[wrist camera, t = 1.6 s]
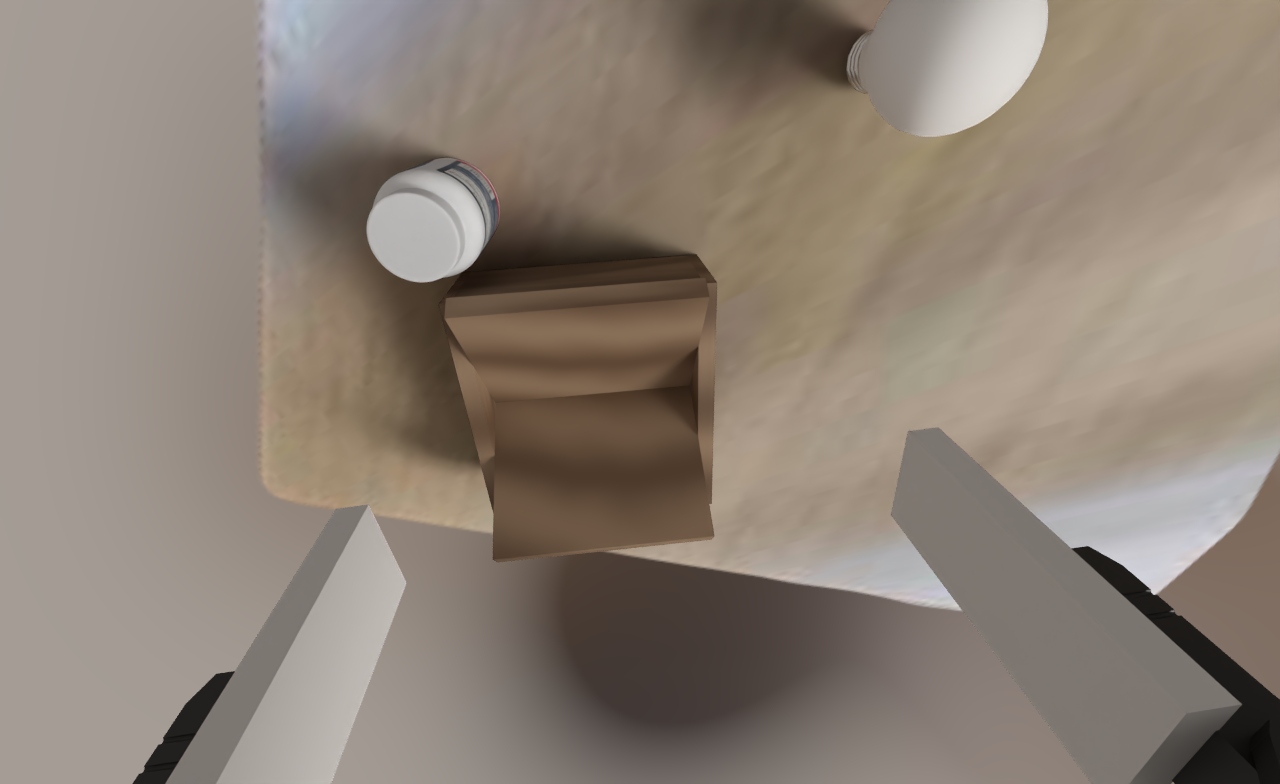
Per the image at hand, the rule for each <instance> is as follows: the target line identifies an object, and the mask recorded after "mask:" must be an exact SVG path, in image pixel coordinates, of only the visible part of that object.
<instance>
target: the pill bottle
mask: <svg viewBox="0 0 1280 784" xmlns="http://www.w3.org/2000/svg"><path fill="white" fill-rule="evenodd" d="M499 218H500V205H499V200H498V196H497V193H496V191H495V189H494V187H493V185H492V184H491V182H490V181H489V179H488V178H487V177H486V176H485V175H484V174H483V173H482V172H481V171H480V170H479V169H477V168H476V167H474V166H473V165H471V164H469V163H467V162H465V161H462V160H458V159H454V158H440V159H434V160H431V161H428V162H425V163H423V164H421V165H418V166H416V167H414V168H411V169H408V170H405V171H402V172H400V173H398V174H396V175H394V176H392V177H391V178H390V179H389V180H387V181H386V182H385V183H384V184H383V185H382V187H381V188H380V190H379V191H378V193H377V195H376V198H375V200H374V204H373V208H372V210H371V211H370V214H369V216H368V220H367V227H366V229H367V239H368V243H369V245H370V248H371V250H372V252H373V254H374V255H375V257H376V258H377V259H378V261H379V262H380V263H381V264H382V265H383V266H384V267H385V268H386V269H387V270H389V271H390V272H391V273H393V274H394V275H396V276H398V277H400V278H403V279H405V280H409V281H413V282H431V281H435V280H438V279H440V278H444V277H450V276H454V275H457V274H459V273H461V272H463V271H464V270H466V269H467V268H469V267H470V266H471V265H472V264H473V263H474V262H475V261H476V259H477V258H478V257H479V255H480V254H481V252H482V251H483V249H484V248H485V246H486V245H487V243H488V242H489V240H490V239H491V238H492V236H493V235H494V233H495V231H496V229H497V226H498V223H499Z"/></svg>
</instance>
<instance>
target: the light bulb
mask: <svg viewBox="0 0 1280 784" xmlns="http://www.w3.org/2000/svg"><path fill="white" fill-rule="evenodd" d="M1047 23H1048V5H1047V0H891V1H890V2H889V3H888V5H887V6H886V7H885V9H884V10H883V12H882V14H881V16H880V18H879V19H878V21H877V23H876V25H875V27H874V29H873V30H870V31H868V32H866V33H864V34H863V35H861V36H860V37H859V38H858V40H857V41H856V42H855V43H854V44H853V45H852V48H851V50H850V52H849V54H848V57H847V64H846V73H847V77H848V81H849V82H850V84H851V85H852V86H853V88H854V89H855V90H857V91H859V92H861V93H864V94H867V93H868V94H869V97H870V100H871V102H872V104H873V106H874V107H875V109H876V111H877V112H878V113H879V114H880V115H881V116H882V117H883V118H884V120H885V121H886V122H887V123H888V124H890V125H891V126H893V127H894V128H896V129H898V130H899V131H903V132H906V133H909V134H912V135H916V136H924V137H935V136H943V135H949V134H954V133H957V132H959V131H962V130H964V129H967V128H969V127H972V126H974V125H976V124H978V123H980V122H981V121H983V120H985V119H986V118H988V117H990V116H991V115H992V114H993V113H995V112H996V111H997V110H998V109H999V108H1001V107H1002V106H1003V105H1004V104H1005V103H1006V102H1008V101H1009V100H1010V99H1011V98H1012V97H1013V95H1014V94H1015V93H1016V92H1017V91H1018V90H1019V89H1020V88H1021V86H1022V85H1023V83H1024V82H1025V81H1026V79H1027V78H1028V76H1029V75H1030V73H1031V71H1032V69H1033V67H1034V66H1035V64H1036V62H1037V60H1038V57H1039V55H1040V52H1041V49H1042V46H1043V44H1044V40H1045V35H1046V30H1047Z"/></svg>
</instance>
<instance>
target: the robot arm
mask: <svg viewBox="0 0 1280 784" xmlns="http://www.w3.org/2000/svg"><path fill="white" fill-rule="evenodd" d="M891 516H892V517H893V518H894V520H895V521H896V522H897V524H898V525H899V526H900V528H901V529H902V530H903V532H904V533H905V534H906V536H907V537H908V538H909V540H910V541H911V542H912V544H913V545H914V546H915V548H916V549H917V550H918V552H919V553H920V554H921V556H922V557H923V558H924V560H925V561H926V562H927V564H928V565H929V566H930V568H931V569H932V570H933V572H934V573H935V574H936V576H937V577H938V578H939V580H940V581H941V582H942V584H943V585H944V587H945V588H946V589H947V591H948V592H949V593H950V595H951V596H952V597H953V599H954V600H955V601H956V603H957V604H958V605H959V607H960V608H961V609H962V611H963V612H964V613H965V615H966V616H967V617H968V619H969V620H970V621H971V623H972V624H973V625H974V627H975V628H976V629H977V631H978V632H979V633H980V635H981V636H982V637H983V639H984V640H985V641H986V643H987V644H988V645H989V647H990V648H991V649H992V651H993V652H994V653H995V655H996V656H997V658H998V659H999V660H1000V662H1001V663H1002V664H1003V665H1004V667H1005V668H1006V670H1007V671H1008V672H1009V674H1010V675H1011V676H1012V677H1013V679H1014V680H1015V682H1016V683H1017V684H1018V685H1019V687H1020V688H1021V690H1022V691H1023V692H1024V694H1026V696H1027V698H1028V699H1029V700H1030V702H1031V703H1032V704H1033V706H1034V707H1035V708H1036V710H1037V711H1038V712H1039V714H1040V715H1041V716H1042V718H1043V719H1044V720H1045V722H1046V723H1047V724H1048V726H1049V727H1050V729H1051V730H1052V731H1053V733H1054V734H1055V735H1056V737H1057V738H1058V739H1059V741H1060V742H1061V743H1062V745H1063V746H1064V747H1065V748H1066V750H1067V751H1068V753H1069V754H1070V755H1071V756H1072V758H1073V759H1074V761H1075V762H1076V763H1077V765H1078V766H1079V767H1080V769H1081V770H1082V771H1083V772H1084V774H1085V775H1086V777H1087V778H1088V779H1089V781H1090V782H1091V783H1092V784H1171V783H1172V782H1174V783H1175V784H1280V699H1278V698H1277V697H1276V696H1275V695H1273V694H1272V693H1271V692H1270V691H1269V690H1267V689H1266V688H1265V687H1264V686H1263V685H1262V684H1260V683H1259V682H1258V681H1257V680H1256V679H1255V678H1253V677H1252V676H1251V675H1250V674H1249V673H1248V672H1246V671H1245V670H1244V669H1243V668H1242V667H1240V666H1239V665H1238V664H1237V663H1236V662H1235V661H1233V660H1232V659H1231V658H1230V657H1229V656H1228V655H1227V654H1225V653H1224V652H1223V651H1222V650H1221V649H1220V648H1218V647H1217V646H1216V645H1215V644H1214V643H1213V642H1211V641H1210V640H1209V639H1208V638H1207V637H1205V636H1204V635H1203V634H1202V633H1201V632H1200V631H1198V630H1197V629H1196V628H1195V627H1194V626H1193V625H1191V624H1190V623H1189V622H1188V621H1186V619H1184V618H1183V617H1182V616H1178V615H1176V614H1175V610H1174V609H1173V608H1171V607H1170V606H1169V605H1168V604H1167V603H1166V602H1165V601H1163V600H1162V599H1161V598H1160V597H1159V596H1158V595H1153V594H1152V593H1151V589H1149V588H1148V587H1147V586H1146V585H1145V584H1144V583H1142V582H1141V581H1140V580H1139V579H1138V578H1137V577H1135V576H1134V575H1133V574H1132V573H1131V572H1130V571H1128V570H1127V569H1126V568H1125V567H1124V566H1123V565H1121V564H1119V563H1117V562H1115V561H1114V560H1112V559H1110V558H1108V557H1107V556H1105V555H1103V554H1101V553H1099V552H1098V551H1096V550H1094V549H1092V548H1090V547H1089V546H1086V547H1079V548H1072V549H1071V548H1070V547H1069V546H1068V545H1067V544H1066V543H1064V542H1063V541H1062V540H1061V539H1060V538H1059V537H1058V536H1057V535H1056V534H1055V533H1054V532H1052V531H1051V530H1050V529H1049V528H1048V527H1047V526H1046V525H1045V524H1044V523H1043V522H1041V521H1040V520H1039V519H1038V518H1037V517H1036V516H1035V515H1034V514H1033V513H1032V512H1030V511H1029V510H1028V509H1027V508H1026V507H1025V506H1024V505H1023V504H1022V503H1021V502H1020V501H1018V500H1017V499H1016V498H1015V497H1014V496H1013V495H1012V494H1011V493H1010V492H1009V491H1007V490H1006V489H1005V488H1004V487H1003V486H1002V485H1001V484H1000V483H999V482H998V481H996V480H995V479H994V478H993V477H992V476H991V475H990V474H989V473H988V472H987V471H986V470H984V469H983V468H982V467H981V466H980V465H979V464H978V463H977V462H976V461H975V460H973V459H972V458H971V457H970V456H969V455H968V454H967V453H966V452H965V451H964V450H962V449H961V448H960V447H959V446H958V445H957V444H956V443H955V442H954V441H953V440H952V439H950V438H949V437H948V436H947V435H946V434H945V433H944V432H943V431H942V430H941V429H939V428H930V429H923V430H915V431H908V434H907V438H906V443H905V448H904V453H903V458H902V463H901V468H900V473H899V478H898V482H897V487H896V492H895V497H894V502H893V507H892V512H891ZM405 586H406V581H405V579H404V577H403V575H402V573H401V570H400V568H399V566H398V564H397V562H396V560H395V558H394V556H393V554H392V552H391V550H390V548H389V546H388V544H387V542H386V539H385V537H384V535H383V533H382V531H381V529H380V527H379V525H378V523H377V521H376V519H375V517H374V515H373V513H372V511H371V509H370V506H369V505H362V506H354V507H347V508H340V509H336V510H335V511H334V513H333V515H332V516H331V518H330V519H329V521H328V523H327V524H326V526H325V527H324V529H323V531H322V532H321V534H320V535H319V537H318V539H317V540H316V542H315V544H314V545H313V547H312V548H311V550H310V552H309V553H308V555H307V556H306V558H305V560H304V561H303V563H302V565H301V566H300V568H299V569H298V571H297V573H296V574H295V576H294V577H293V579H292V581H291V582H290V584H289V585H288V587H287V589H286V590H285V592H284V593H283V595H282V597H281V598H280V600H279V601H278V603H277V605H276V606H275V608H274V609H273V611H272V613H271V614H270V616H269V618H268V619H267V621H266V622H265V624H264V626H263V627H262V629H261V630H260V632H259V634H258V635H257V637H256V639H255V640H254V642H253V643H252V645H251V647H250V648H249V650H248V651H247V653H246V655H245V656H244V658H243V659H242V661H241V663H240V664H239V666H238V667H237V669H236V671H233V672H226V673H220V674H216V675H215V676H214V677H213V678H212V679H211V680H210V681H209V682H208V683H207V684H206V685H205V686H204V687H203V688H202V689H201V690H200V691H199V692H197V693H196V694H195V695H194V696H193V697H192V698H191V699H190V700H189V701H188V702H187V703H186V705H185V706H184V708H183V709H182V710H181V712H180V713H179V715H178V716H177V718H176V719H175V721H174V722H173V724H172V725H171V727H170V729H169V730H168V732H167V733H166V735H165V736H164V737H163V739H164V741H163V743H162V744H160V745H158V746H157V748H156V749H155V751H154V752H153V754H152V755H151V757H150V758H149V760H148V761H147V763H146V764H145V766H144V767H145V770H144V772H143V773H141V774H139V775H138V776H137V778H136V779H135V781H134V782H133V784H331V782H332V780H333V777H334V774H335V772H336V769H337V766H338V763H339V761H340V758H341V756H342V753H343V750H344V748H345V745H346V742H347V740H348V737H349V734H350V731H351V729H352V726H353V724H354V721H355V718H356V716H357V713H358V710H359V708H360V705H361V703H362V700H363V697H364V695H365V692H366V689H367V686H368V684H369V681H370V679H371V676H372V673H373V671H374V668H375V665H376V663H377V660H378V657H379V655H380V651H381V649H382V647H383V644H384V642H385V639H386V636H387V634H388V631H389V628H390V626H391V623H392V620H393V617H394V615H395V612H396V610H397V607H398V604H399V602H400V599H401V596H402V594H403V591H404V588H405Z"/></svg>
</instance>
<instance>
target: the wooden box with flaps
mask: <svg viewBox="0 0 1280 784" xmlns="http://www.w3.org/2000/svg"><path fill="white" fill-rule="evenodd" d="M716 306H717V282H716V280H715V279H714V278H713V276H712V275H711V274H710V272H709V271H708V269H707V268H706V267H705V265H704V264H703V263H702V261H701V260H700V259H699V257H698V256H697V254H695V255H682V256H669V257H656V258H643V259H630V260H617V261H604V262H591V263H578V264H565V265H551V266H538V267H525V268H512V269H499V270H486V271H473V272H463V273H462V274H461V275H460V277H459V278H458V279H457V281H456V282H455V283H454V285H453V286H452V287H451V289H450V290H449V291H448V293H447V294H446V295H445V297H444V298H443V300H442V301H441V302H440V304H439V308H440V311H441V315H442V319H443V323H444V327H445V330H446V334H447V338H448V342H449V346H450V350H451V353H452V357H453V361H454V365H455V369H456V372H457V376H458V380H459V384H460V388H461V391H462V395H463V399H464V403H465V407H466V410H467V414H468V418H469V422H470V426H471V429H472V433H473V437H474V441H475V445H476V449H477V452H478V456H479V460H480V464H481V468H482V471H483V475H484V479H485V483H486V487H487V490H488V494H489V498H490V502H491V506H492V509H493V513H494V522H493V560H494V561H496V562H505V561H515V560H523V559H534V558H543V557H552V556H561V555H571V554H581V553H590V552H599V551H609V550H618V549H627V548H637V547H646V546H655V545H665V544H674V543H683V542H693V541H702V540H711V539H712V538H713V537H714V531H713V525H712V519H711V512H710V506H709V504H712V467H713V427H714V386H715V346H716Z"/></svg>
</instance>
